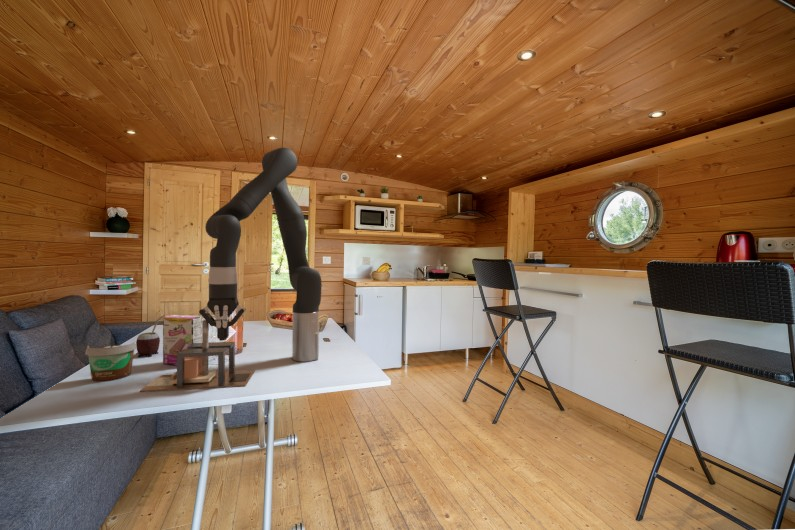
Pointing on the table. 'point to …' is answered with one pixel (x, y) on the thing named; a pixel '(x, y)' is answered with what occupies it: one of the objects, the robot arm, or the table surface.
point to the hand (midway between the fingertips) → (222, 339)
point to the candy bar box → (179, 335)
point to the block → (192, 367)
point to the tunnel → (217, 381)
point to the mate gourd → (148, 343)
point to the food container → (110, 362)
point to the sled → (206, 374)
